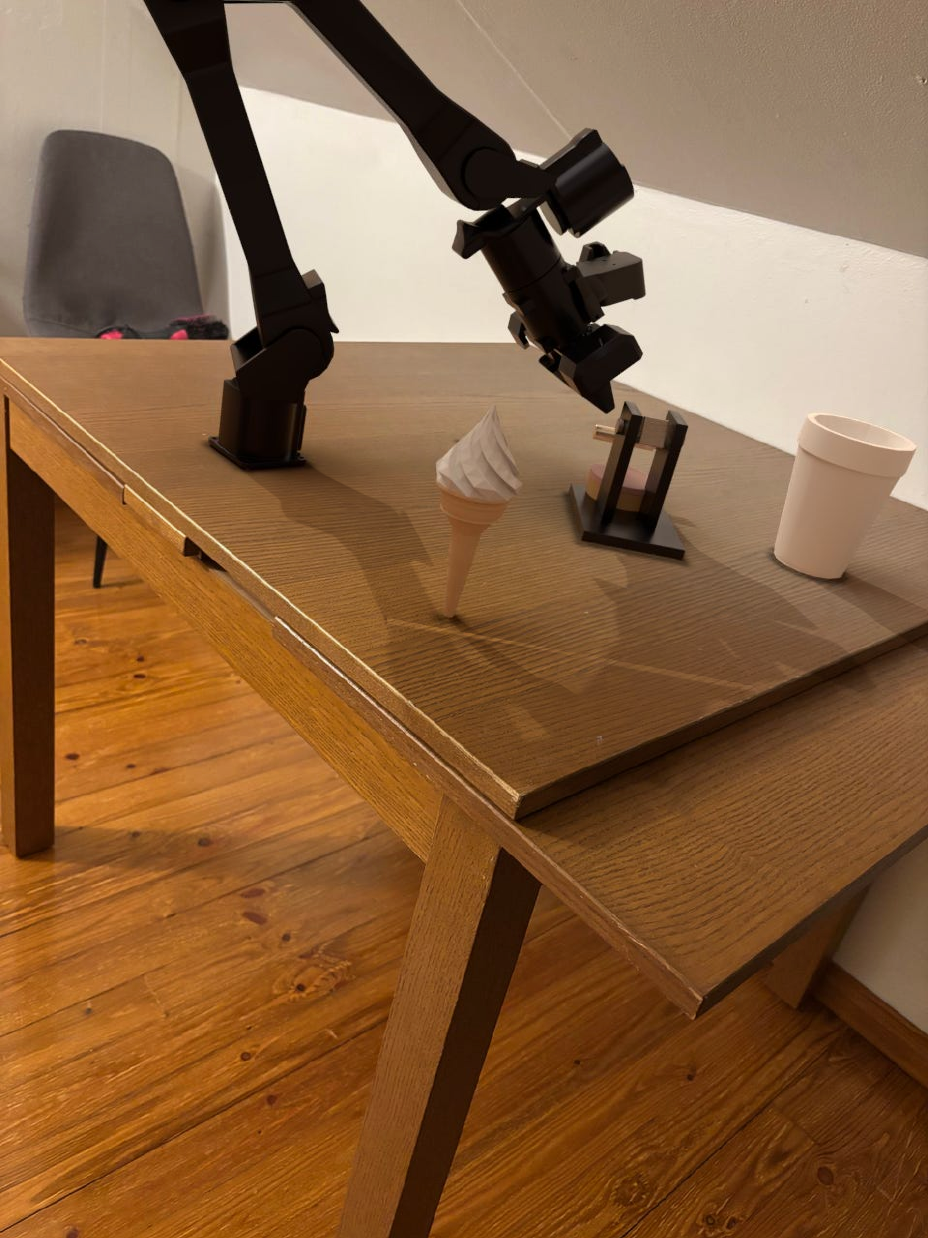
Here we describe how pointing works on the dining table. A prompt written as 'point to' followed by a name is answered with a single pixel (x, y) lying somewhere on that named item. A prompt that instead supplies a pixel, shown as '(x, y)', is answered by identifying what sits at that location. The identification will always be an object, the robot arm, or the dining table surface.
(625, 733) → the dining table surface
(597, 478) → the cake
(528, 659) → the dining table surface
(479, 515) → the ice cream cone
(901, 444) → the foam cup
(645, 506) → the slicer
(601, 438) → the lever
